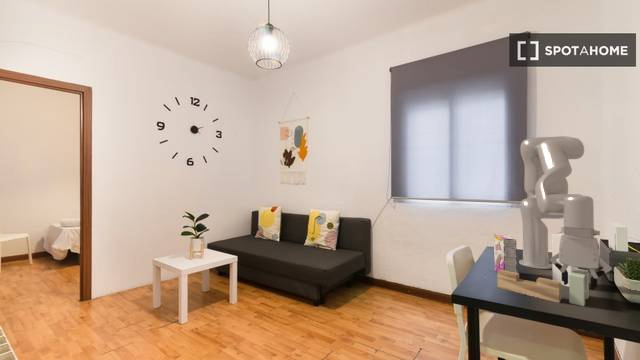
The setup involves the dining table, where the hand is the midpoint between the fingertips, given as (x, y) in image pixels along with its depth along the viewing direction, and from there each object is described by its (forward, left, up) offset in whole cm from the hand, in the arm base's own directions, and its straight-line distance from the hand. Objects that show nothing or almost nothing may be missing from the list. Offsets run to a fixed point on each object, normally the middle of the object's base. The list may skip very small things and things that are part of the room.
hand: (579, 286), depth 97 cm
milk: (-16, -6, -5) cm, 18 cm away
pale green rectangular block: (0, 0, -5) cm, 5 cm away
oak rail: (+6, -13, -5) cm, 15 cm away
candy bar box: (-11, -25, -5) cm, 28 cm away
